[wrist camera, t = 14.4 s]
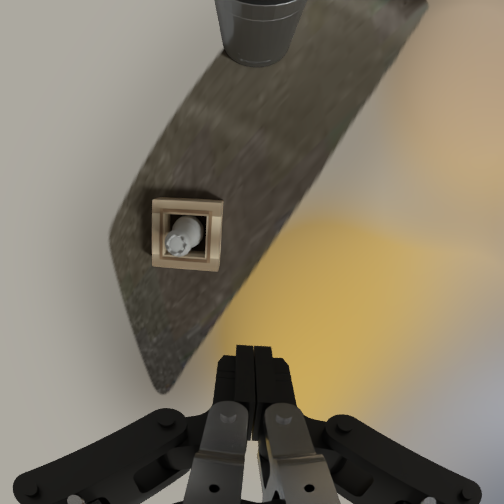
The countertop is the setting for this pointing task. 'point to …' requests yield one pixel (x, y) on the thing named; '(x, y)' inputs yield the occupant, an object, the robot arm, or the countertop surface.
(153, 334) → the countertop surface
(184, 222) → the rook chess piece
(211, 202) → the socket block
